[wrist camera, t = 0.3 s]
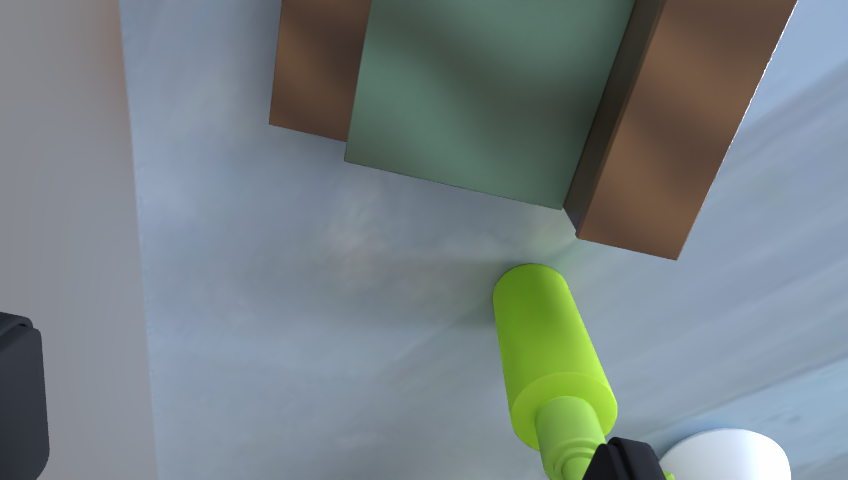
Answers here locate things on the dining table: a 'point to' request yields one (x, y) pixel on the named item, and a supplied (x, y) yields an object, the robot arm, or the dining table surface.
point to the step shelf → (536, 98)
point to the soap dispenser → (551, 371)
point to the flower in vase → (726, 457)
